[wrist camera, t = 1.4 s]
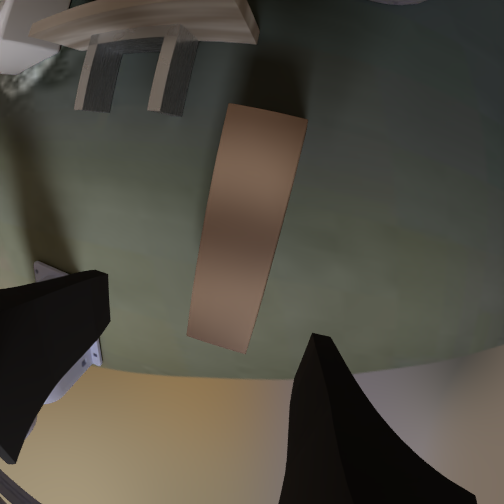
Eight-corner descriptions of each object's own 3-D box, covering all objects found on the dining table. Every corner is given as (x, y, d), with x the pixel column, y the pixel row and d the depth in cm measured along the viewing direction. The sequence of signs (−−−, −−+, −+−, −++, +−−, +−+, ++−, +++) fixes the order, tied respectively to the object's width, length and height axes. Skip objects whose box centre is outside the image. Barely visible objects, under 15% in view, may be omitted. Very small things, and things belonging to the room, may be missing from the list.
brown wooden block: (259, 309, 20) (245, 354, 15) (212, 295, 20) (186, 335, 15) (306, 130, 16) (308, 119, 11) (249, 117, 16) (228, 103, 11)
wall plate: (256, 44, 14) (233, -1, 8) (81, 50, 15) (27, 36, 10) (260, 31, 14) (238, -18, 8) (84, 40, 15) (32, 23, 9)
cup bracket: (181, 116, 16) (159, 111, 13) (101, 112, 17) (73, 109, 14) (199, 40, 14) (181, 23, 12) (116, 45, 15) (91, 34, 12)
